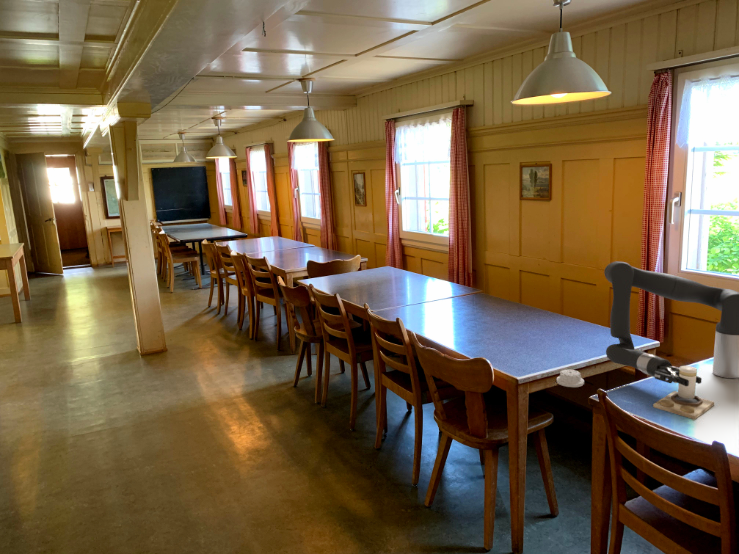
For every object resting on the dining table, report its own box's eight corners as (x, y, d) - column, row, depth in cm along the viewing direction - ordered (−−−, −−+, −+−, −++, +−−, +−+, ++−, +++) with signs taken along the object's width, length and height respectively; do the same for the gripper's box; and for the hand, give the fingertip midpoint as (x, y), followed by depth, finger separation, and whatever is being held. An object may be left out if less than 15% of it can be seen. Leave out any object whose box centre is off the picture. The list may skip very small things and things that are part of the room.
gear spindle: (681, 391, 187) (683, 364, 185) (697, 396, 183) (699, 368, 181) (675, 395, 184) (677, 368, 182) (691, 400, 180) (693, 372, 178)
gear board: (674, 394, 193) (674, 388, 192) (714, 405, 183) (714, 398, 182) (653, 407, 183) (653, 401, 183) (694, 419, 173) (695, 413, 173)
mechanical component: (555, 386, 205) (583, 389, 201) (555, 375, 204) (583, 378, 201) (557, 377, 214) (584, 379, 210) (557, 366, 213) (584, 369, 210)
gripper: (638, 358, 193) (678, 374, 177) (669, 353, 197) (711, 368, 181) (637, 378, 195) (677, 396, 179) (668, 372, 199) (709, 389, 183)
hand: (694, 382), depth 180 cm, fingers closed on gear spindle, 5 cm apart
